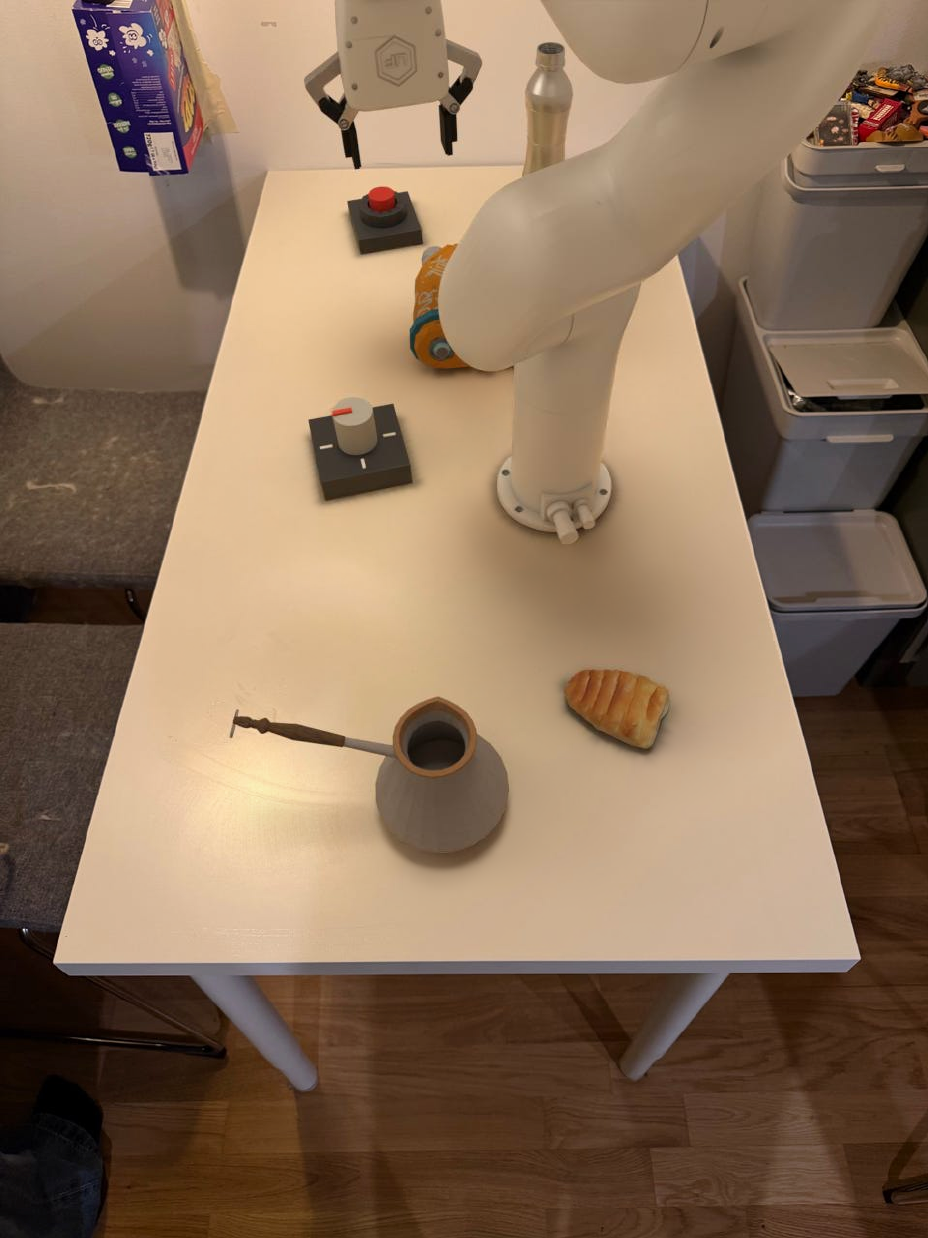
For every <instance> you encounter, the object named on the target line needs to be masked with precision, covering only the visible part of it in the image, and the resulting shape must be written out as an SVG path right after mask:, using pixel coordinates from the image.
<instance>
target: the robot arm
mask: <svg viewBox="0 0 928 1238" xmlns="http://www.w3.org/2000/svg"><path fill="white" fill-rule="evenodd" d="M539 1H540V3H541V4H542V6H543V8H544V9H545V11H546V12H547V14H548V16H549V17H550V19H551V21H552V22H553V24H554V25H555V27H556V29H557V30H558V31H559V34H560V35H561V37H562V39H564V41H565V43H566V44H567V46H568V48H569V49H570V50H571V51H572V52H573V54H574V55H575V56H576V57H577V59H578V60H579V61H580V62H581V63H582V64H583V65H584V66H585V67H586V68H588V70H590V71H591V72H592V73H593V74H595V76H598V77H599V78H601V79H603V80H607V81H610V82H612V83H615V84H619V85H633V84H634V85H635V84H641V83H642V84H643V83H647V82H651V81H655V80H659V79H662V78H663V79H662V80H661V81H660V82H659V83H658V84H657V85H656V86H655V87H654V88H653V89H652V90H651V91H650V92H649V94H648V95H647V96H646V98H645V99H644V100H643V102H642V103H641V104H640V106H639V107H638V109H637V111H635V113H634V114H633V116H632V117H631V118H630V119H629V120H628V121H627V122H626V124H625V125H624V126H623V127H622V128H621V129H620V130H619V131H618V132H617V133H616V134H615V135H614V136H613V137H612V138H610V139H609V140H608V141H606V142H605V143H603V144H601V145H599V146H597V147H595V148H592V149H589V150H587V151H585V152H582V153H580V154H577V155H575V156H573V157H569V158H568V159H565V161H562V162H560V163H557V164H554V165H551V166H549V167H546V168H544V169H541V170H538V171H536V172H533V173H531V174H528V175H526V176H524V177H522V176H521V177H519V178H517V179H514V180H513V181H511V182H509V183H507V184H505V185H504V186H503V187H501V188H500V189H498V190H497V191H496V192H494V193H493V194H492V195H490V196H489V198H488V199H486V200H485V201H484V203H483V204H482V205H481V206H480V208H479V210H478V211H477V212H476V214H475V215H474V217H473V218H472V220H471V221H470V224H469V225H468V227H467V228H466V231H465V232H464V234H463V236H462V237H461V239H460V241H459V242H458V243H459V244H458V243H457V244H458V245H457V247H456V249H455V251H454V252H453V254H452V256H451V257H450V259H449V261H448V263H447V265H446V267H445V269H444V272H443V274H442V278H441V281H440V286H439V294H438V310H439V318H440V323H441V326H442V330H443V332H444V335H445V337H446V340H447V342H448V343H449V345H450V347H451V348H452V350H453V351H454V352H455V353H456V354H457V356H458V357H459V358H460V359H462V360H463V361H464V362H465V363H467V364H468V365H470V366H469V367H472V368H474V369H475V370H478V371H479V370H480V371H484V372H498V371H499V372H500V371H502V370H506V369H509V368H511V367H512V366H513V382H512V383H513V384H512V385H513V386H512V387H513V388H512V421H511V422H512V423H511V424H512V427H511V455H509V457H507V459H505V461H504V462H503V463H502V465H501V466H500V468H499V471H498V473H497V479H496V493H497V497H498V500H499V503H500V505H501V507H502V508H503V509H504V511H505V512H506V513H507V514H508V515H509V516H510V517H511V518H513V520H514V521H516V522H518V523H520V524H522V525H523V526H525V527H528V528H530V529H533V530H536V531H543V532H547V533H549V532H550V533H557V536H558V538H559V541H560V543H561V544H562V545H571V544H574V543H575V542H576V541H578V539H579V533H578V531H577V530H579V529H580V528H583V529H584V530H590V529H592V528H594V527H595V526H596V520H597V519H598V518H599V517H600V516H601V515H602V514H603V513H604V511H605V510H606V509H607V506H609V505H608V504H609V501H610V499H611V493H612V478H611V474H610V472H609V469H608V468H607V466H606V465H605V463H604V462H603V461H602V460H603V453H604V445H605V440H606V432H607V426H608V421H609V413H610V407H611V400H612V392H613V388H614V382H615V376H616V370H617V363H618V358H619V354H620V349H621V346H622V342H623V339H624V335H625V332H626V330H627V328H628V325H629V323H630V320H631V318H632V315H633V312H634V309H635V307H636V304H637V301H638V298H639V295H640V290H641V286H642V283H643V282H644V281H647V280H648V279H650V278H651V277H653V276H655V275H656V274H657V273H659V272H660V271H661V270H662V269H663V268H665V267H666V266H667V265H668V264H669V263H670V262H671V261H672V260H673V259H674V258H675V257H676V256H678V255H679V253H681V252H682V251H683V250H684V249H685V248H686V247H687V246H688V245H690V244H691V243H692V242H693V241H694V240H695V239H697V237H699V236H701V234H702V233H704V232H705V231H706V230H707V229H708V228H709V227H711V225H713V224H714V223H715V222H716V221H717V220H718V219H720V218H721V217H722V216H723V215H724V214H725V213H726V212H727V211H728V210H729V209H730V208H731V207H732V206H733V205H734V204H735V203H736V202H738V201H739V200H740V199H741V198H742V197H743V196H744V195H745V194H746V193H748V192H749V191H750V190H752V188H753V187H754V186H756V185H757V184H758V183H759V182H761V180H763V179H764V178H765V177H766V176H767V175H768V174H770V173H771V172H772V171H773V170H774V169H775V168H777V167H778V165H780V164H781V163H782V162H783V161H784V160H785V159H786V158H787V157H788V156H789V155H790V154H792V152H793V151H794V150H796V149H797V148H798V147H799V146H800V145H801V144H802V143H803V142H804V141H805V140H806V139H807V138H808V137H809V136H810V135H811V134H812V132H814V131H815V130H816V128H817V127H818V126H819V125H820V124H821V123H822V122H823V120H824V119H825V118H826V117H827V116H828V114H830V112H831V110H832V109H833V108H834V107H835V105H836V104H837V103H838V102H839V100H840V99H841V98H842V96H843V95H844V93H845V92H846V90H847V89H848V87H849V86H850V84H851V83H852V81H853V80H854V78H855V76H856V75H857V73H858V72H859V70H860V68H861V67H862V64H863V63H864V61H865V59H866V57H867V55H868V53H869V51H870V49H871V47H872V45H873V43H874V40H875V38H876V36H877V34H878V30H879V28H880V25H881V22H882V19H883V17H884V15H885V11H886V7H887V3H888V0H539ZM334 14H335V36H336V46H337V51H336V52H335V53H334V54H332V55H331V56H330V57H328V58H327V59H325V61H323V62H322V63H321V64H320V65H318V66H317V67H316V68H315V69H313V70H312V71H311V72H310V73H308V74H307V75H306V76H304V78H303V83H304V88H305V90H306V92H307V93H308V95H309V96H310V97H311V99H312V100H313V102H314V103H315V104H316V105H317V107H318V109H319V110H320V112H321V113H322V114H323V115H324V116H326V117H327V118H328V119H330V121H332V122H333V123H335V124H336V125H337V126H338V128H339V129H340V133H341V141H342V147H343V153H344V157H345V159H349V158H351V161H352V163H353V164H352V165H353V168H354V171H357V170H360V169H361V168H362V160H361V154H360V146H359V139H358V131H357V127H356V124H355V120H356V117H357V115H358V113H359V112H376V111H383V110H390V109H397V108H405V107H411V106H418V105H425V104H430V103H434V102H435V103H436V102H439V105H438V119H439V121H438V122H439V135H440V136H439V137H440V143H441V146H442V149H443V151H444V154H445V155H446V156H447V157H449V156H453V155H454V148H453V143H458V118H457V116H458V115H457V114H458V113H459V112H460V110H461V106H462V105H463V103H464V102H465V101H466V99H468V97H469V95H470V94H471V93H472V91H473V90H474V83H475V82H476V81H477V78H478V76H479V73H480V71H481V68H482V66H483V60H482V58H481V56H480V54H479V53H478V52H477V51H474V50H472V49H470V48H467V47H466V46H464V45H461V44H459V43H456V42H455V41H452V40H450V39H448V38H446V37H447V36H446V30H445V20H444V13H443V6H442V0H334ZM449 61H450V62H453V63H455V64H457V65H459V66H462V70H461V73H460V75H459V76H458V77H457V78H456V80H455V81H454V83H453V84H451V86H450V71H449V70H450V69H449ZM338 76H340V78H341V83H342V87H343V93H342V96H341V97H340V98H339V100H338V101H336V100H335V99H334V98H333V97H331V96H330V95H329V94H327V92H326V90H325V87H326V86H327V85H328V84H329V83H331V82H332V81H333V80H334V79H335V78H337V77H338Z"/></svg>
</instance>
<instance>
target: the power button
mask: <svg viewBox="0 0 928 1238" xmlns="http://www.w3.org/2000/svg"><path fill="white" fill-rule="evenodd" d="M394 191H395V190H394V189H393V188H391V187H389V186H384V185H383V186H382V185H381V186H376V187H373V188H372V189H370V190H369V191H368V193H367V194H368V196H369V203H370V208H371V209H372V210H374V211H379V212H383V211H389V210H391V209H393V208H394V207H395V196H394Z"/></svg>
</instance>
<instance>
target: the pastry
mask: <svg viewBox="0 0 928 1238" xmlns="http://www.w3.org/2000/svg"><path fill="white" fill-rule="evenodd" d="M564 695H565V698H566V701H567V703H568V705H569V707H570V708H571V709H572V710H574V711H575V712H576V713H577V714H578V715H580V716H581V717H582V718H583V719H584V720H585V721H586V722H588V723H589V724H591V725H592V726H593V727H594V728H595V729H596V731H599V732H603V733H604V734H606V735H608V736H610V737H613V738H615V739H617V740H618V741H619V740H620V741H621V742H624V743H625V744H627V745H630V746H632V747H636V748H637V747H638V748H640V749H641V748H642V749H646V750H647V749H649V748H651V747H652V746H653V744H654V742H655V741H656V737H657V736H658V731H659V728H660V724H661V720H662V719H663V717H665V716H666V714H667V712H668V709H669V707H670V702H671V701H670V692H669V689H668V688H667V687H666V686H664V685H660V684H658V683H656V682H655V681H654V680H652V679H650V677H647V676H645V675H641V674H636V673H635V674H634V673H632V672H630V671H627V670H626V671H625V670H619V669H613V670H612V669H607V668H606V669H584V670H583V669H582V670H581V671H578V672H577V673H575V674H574V675H573V676H572V677H571V678H570V680H568V682H567V684H566V685H565V688H564Z"/></svg>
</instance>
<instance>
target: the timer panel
mask: <svg viewBox="0 0 928 1238" xmlns="http://www.w3.org/2000/svg"><path fill="white" fill-rule="evenodd" d="M372 408H373V414H374V420H375V426H376V432H377V439H378V440H377V444H376V446H375V447H374V448H373V449H372V450H371V451H370V452H368V453H366V454H362V455H350V454H347V453H345V452H344V451H342V450H341V448H340V447H339V444H338V439H337V435H336V430H335V425H334V421H333V416H332V414H330V415H326V416H320V417H315V418H310V419H308V420H307V422H308V426H309V431H310V436H311V441H312V447H313V451H314V458H315V460H316V467H317V472H318V477H319V482H320V486H321V491H322V494H323V498H324V501H329V500H334V499H340V498H344V497H349V496H354V495H359V494H364V493H369V492H374V491H380V490H385V489H389V488H395V487H400V486H404V485H410V484H413V474H412V466H411V462H410V458H409V454H408V450H407V447H406V443H405V440H404V437H403V433H402V430H401V429H402V428H401V425H400V422H399V419H398V415H397V412H396V408H395V404H394V403H388V404H384V405H378V406H372Z"/></svg>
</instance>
